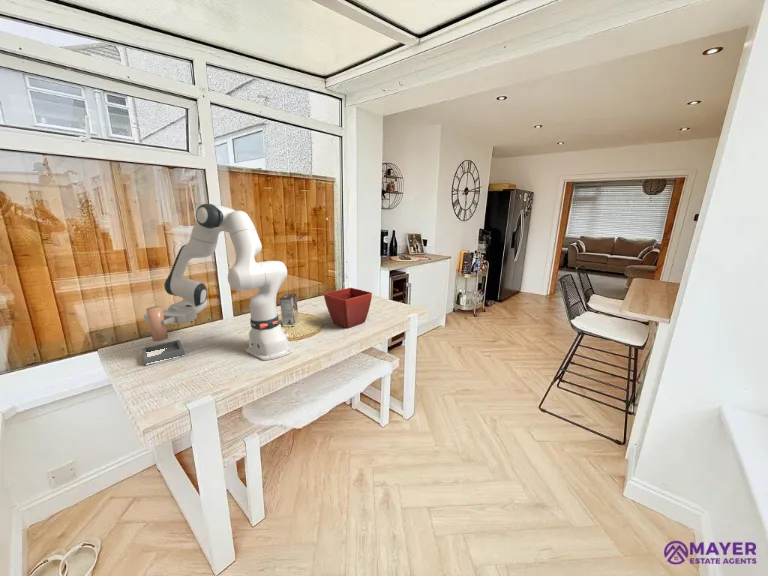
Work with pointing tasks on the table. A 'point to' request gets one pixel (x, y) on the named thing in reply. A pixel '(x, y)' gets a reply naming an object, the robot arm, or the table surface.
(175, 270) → the robot arm
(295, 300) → the coffee box
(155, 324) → the terracotta jar
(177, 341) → the box
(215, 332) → the table surface
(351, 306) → the plant pot
